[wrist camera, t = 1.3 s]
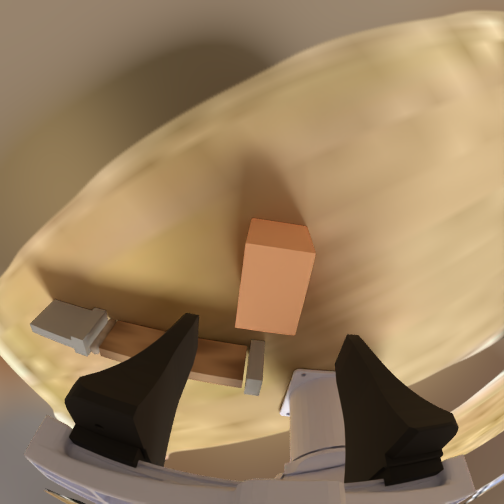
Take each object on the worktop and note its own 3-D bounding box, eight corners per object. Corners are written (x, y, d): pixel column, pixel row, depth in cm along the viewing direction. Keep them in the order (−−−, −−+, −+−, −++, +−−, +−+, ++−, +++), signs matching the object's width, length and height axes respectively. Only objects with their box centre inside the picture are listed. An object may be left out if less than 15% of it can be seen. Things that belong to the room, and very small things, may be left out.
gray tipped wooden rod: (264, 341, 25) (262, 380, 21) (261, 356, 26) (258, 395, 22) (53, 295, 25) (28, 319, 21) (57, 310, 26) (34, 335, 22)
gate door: (247, 345, 25) (242, 380, 21) (245, 353, 25) (241, 388, 22) (108, 317, 25) (88, 344, 21) (109, 325, 26) (90, 352, 22)
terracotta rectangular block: (306, 225, 21) (315, 253, 16) (291, 296, 23) (294, 335, 19) (252, 217, 21) (245, 243, 16) (242, 289, 23) (234, 327, 19)
